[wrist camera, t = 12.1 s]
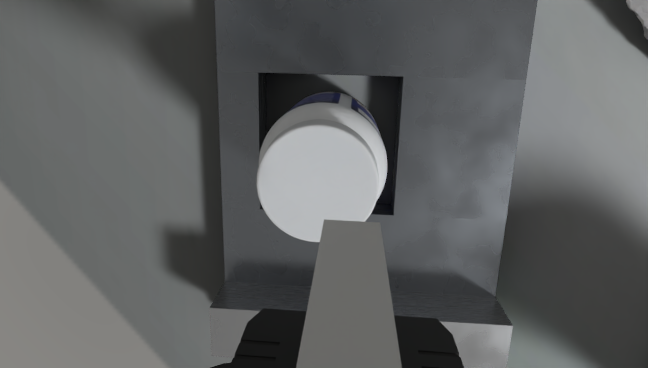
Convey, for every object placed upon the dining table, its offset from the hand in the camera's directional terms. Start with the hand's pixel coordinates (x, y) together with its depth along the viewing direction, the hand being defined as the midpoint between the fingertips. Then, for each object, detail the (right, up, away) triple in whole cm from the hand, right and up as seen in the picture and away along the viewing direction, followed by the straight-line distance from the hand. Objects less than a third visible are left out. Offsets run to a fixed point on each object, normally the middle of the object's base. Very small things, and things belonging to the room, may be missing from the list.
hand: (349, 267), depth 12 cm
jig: (+2, +3, +15) cm, 15 cm away
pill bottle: (0, +5, +14) cm, 15 cm away
